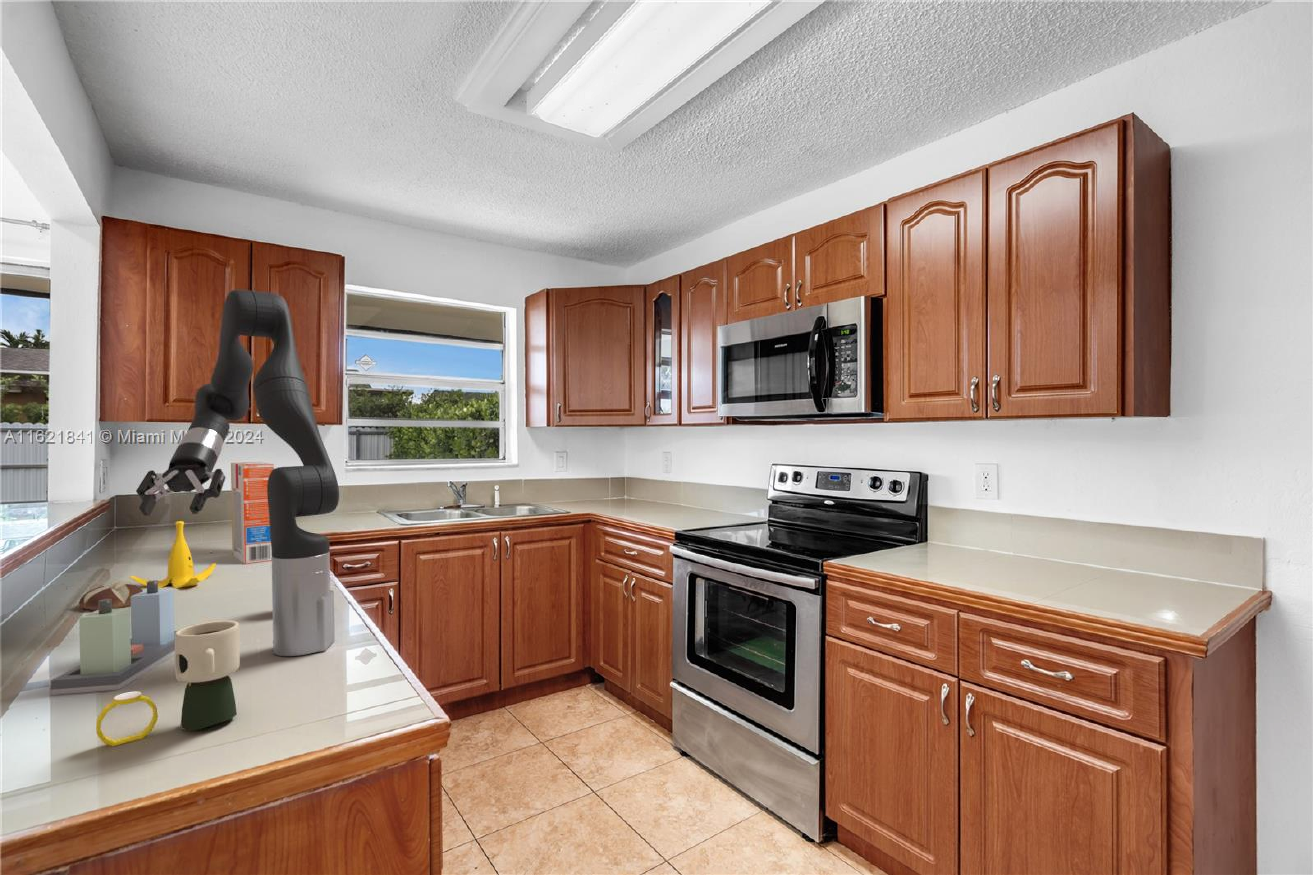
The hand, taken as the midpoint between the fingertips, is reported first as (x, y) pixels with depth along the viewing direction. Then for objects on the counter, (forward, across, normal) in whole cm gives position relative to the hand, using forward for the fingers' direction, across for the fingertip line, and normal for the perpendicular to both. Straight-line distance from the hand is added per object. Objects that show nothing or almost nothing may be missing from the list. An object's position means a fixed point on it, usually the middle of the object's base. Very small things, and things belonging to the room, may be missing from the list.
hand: (169, 512), depth 126 cm
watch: (+52, +19, -17) cm, 58 cm away
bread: (-2, -25, +36) cm, 44 cm away
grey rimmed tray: (+30, +3, +4) cm, 31 cm away
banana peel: (-16, -23, +49) cm, 57 cm away
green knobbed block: (+34, +3, -1) cm, 34 cm away
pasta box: (-41, -17, +74) cm, 87 cm away
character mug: (+50, +27, -15) cm, 59 cm away
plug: (+25, +3, +8) cm, 26 cm away
